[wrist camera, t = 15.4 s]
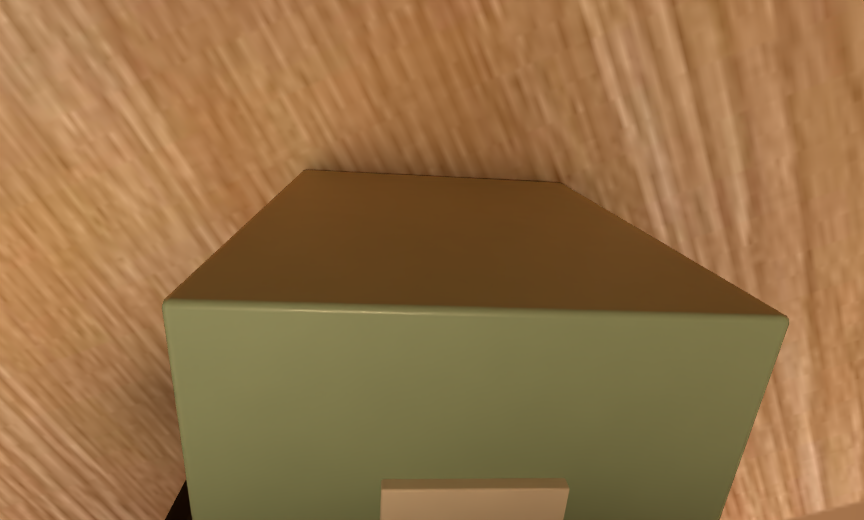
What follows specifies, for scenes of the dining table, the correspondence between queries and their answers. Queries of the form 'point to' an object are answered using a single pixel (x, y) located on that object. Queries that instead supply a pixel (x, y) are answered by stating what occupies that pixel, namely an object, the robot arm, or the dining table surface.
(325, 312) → the tissue box
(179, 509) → the robot arm
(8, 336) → the dining table surface
